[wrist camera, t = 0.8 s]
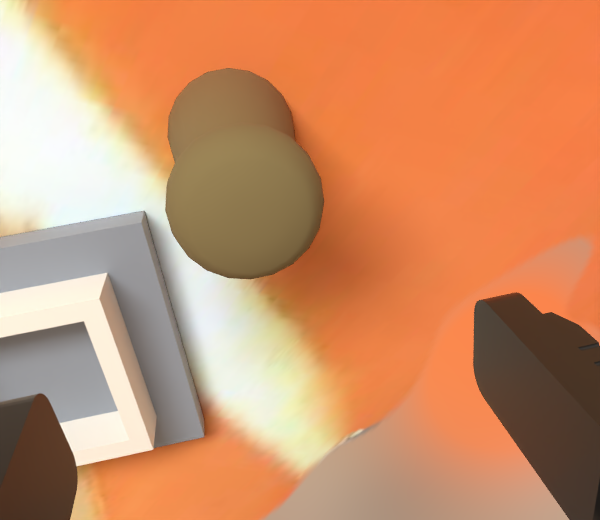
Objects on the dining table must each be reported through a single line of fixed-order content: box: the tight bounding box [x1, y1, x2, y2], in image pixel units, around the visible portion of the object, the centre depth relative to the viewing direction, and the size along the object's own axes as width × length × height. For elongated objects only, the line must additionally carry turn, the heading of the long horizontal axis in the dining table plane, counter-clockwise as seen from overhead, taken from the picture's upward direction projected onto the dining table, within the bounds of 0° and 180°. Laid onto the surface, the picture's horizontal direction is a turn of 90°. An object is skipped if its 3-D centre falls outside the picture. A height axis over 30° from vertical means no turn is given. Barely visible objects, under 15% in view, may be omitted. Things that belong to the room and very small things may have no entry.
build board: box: [0, 211, 204, 466], centre depth 29 cm, size 14×14×4 cm
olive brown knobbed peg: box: [165, 68, 324, 279], centre depth 22 cm, size 6×6×11 cm
